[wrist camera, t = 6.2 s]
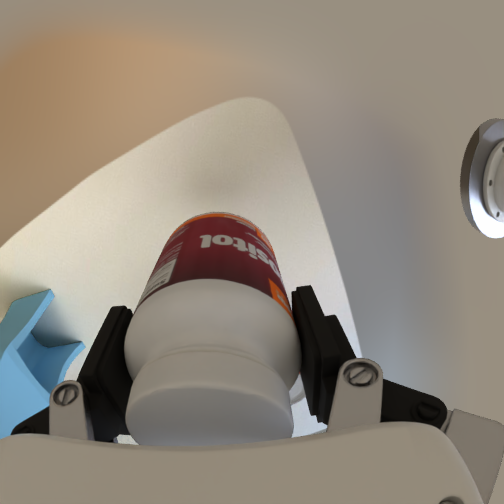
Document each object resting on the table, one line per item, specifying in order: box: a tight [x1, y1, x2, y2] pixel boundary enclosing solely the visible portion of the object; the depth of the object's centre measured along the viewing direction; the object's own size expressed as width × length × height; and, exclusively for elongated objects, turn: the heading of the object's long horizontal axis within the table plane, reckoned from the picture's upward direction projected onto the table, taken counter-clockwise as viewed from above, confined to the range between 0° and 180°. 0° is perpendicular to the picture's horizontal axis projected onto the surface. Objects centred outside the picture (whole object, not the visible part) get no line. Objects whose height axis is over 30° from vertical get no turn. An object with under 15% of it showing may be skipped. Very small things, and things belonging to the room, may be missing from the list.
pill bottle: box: [124, 212, 302, 446], centre depth 12 cm, size 6×6×11 cm
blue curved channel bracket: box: [0, 289, 85, 439], centre depth 24 cm, size 10×10×25 cm
